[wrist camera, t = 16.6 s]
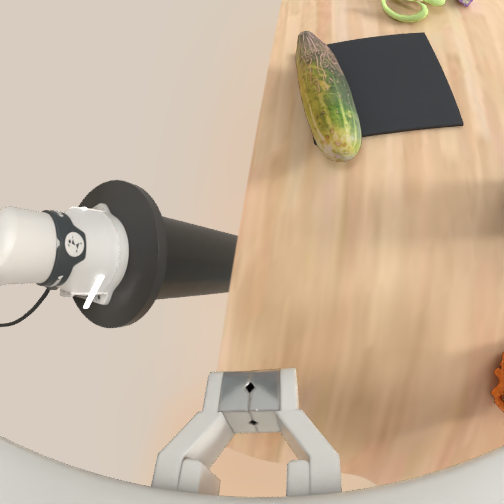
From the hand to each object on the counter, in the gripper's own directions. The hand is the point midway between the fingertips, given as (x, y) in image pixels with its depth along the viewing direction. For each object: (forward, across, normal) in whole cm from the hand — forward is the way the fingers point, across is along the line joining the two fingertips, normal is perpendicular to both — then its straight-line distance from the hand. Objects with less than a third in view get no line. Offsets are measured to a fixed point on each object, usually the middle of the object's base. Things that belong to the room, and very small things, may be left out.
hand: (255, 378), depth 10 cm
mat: (+36, -16, -6) cm, 40 cm away
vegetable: (+27, -8, +2) cm, 28 cm away
